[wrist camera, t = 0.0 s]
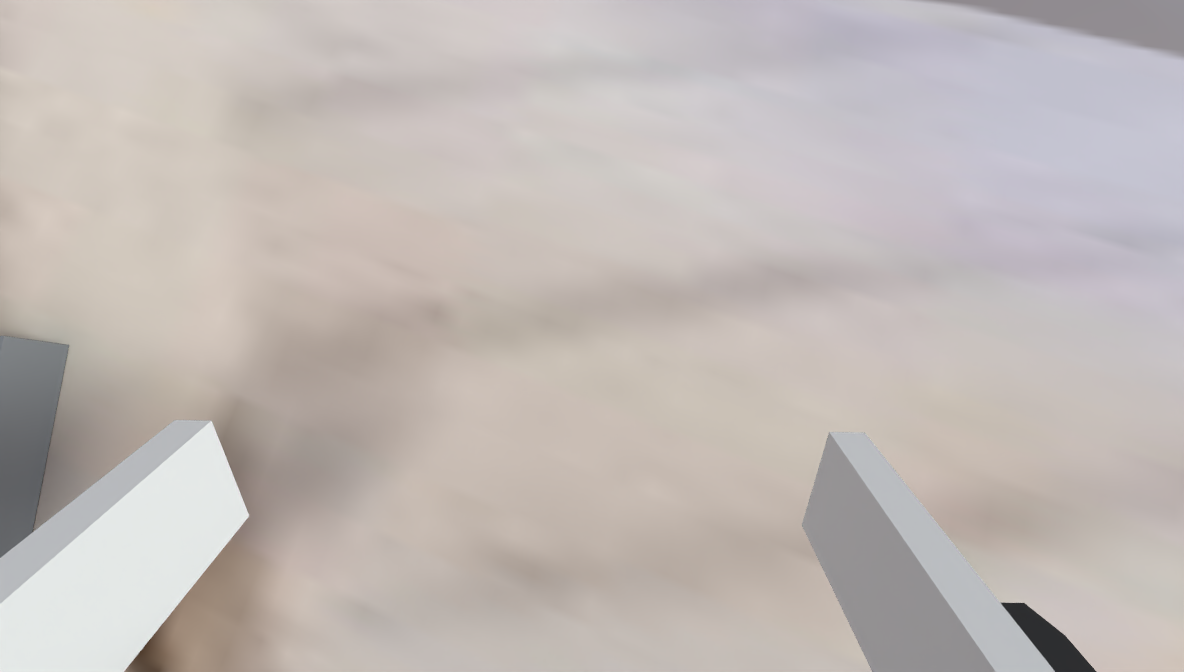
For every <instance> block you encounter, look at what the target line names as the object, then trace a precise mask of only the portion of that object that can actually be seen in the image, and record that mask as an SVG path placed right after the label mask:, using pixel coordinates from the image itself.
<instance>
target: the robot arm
mask: <svg viewBox="0 0 1184 672" xmlns="http://www.w3.org/2000/svg"><path fill="white" fill-rule="evenodd" d="M248 517H249V514H248V512H247V509H246V507H245V504H244V502H243V499H242V496H241V494H240V491H239V489H238V486H237V484H236V481H235V479H234V476H233V474H232V471H231V469H230V466H229V464H228V461H227V459H226V456H225V454H224V451H223V448H222V446H221V443H220V441H219V438H218V436H217V433H216V431H215V428H214V426H213V423H212V421H200V420H174V421H173V422H172V423H171V424H169V425H168V426H167V427H166V428H164V429H163V430H162V431H160V432H159V433H158V434H157V435H155V436H154V437H153V438H152V439H150V440H149V441H148V442H147V443H145V444H144V445H143V446H141V447H140V448H139V449H138V450H136V451H135V452H134V453H133V454H131V455H130V456H129V457H128V458H126V459H125V460H124V461H122V462H121V463H120V464H119V465H117V466H116V467H115V468H114V469H112V470H111V471H110V472H109V473H107V474H106V475H105V476H103V477H102V478H101V479H100V480H98V481H97V482H96V483H95V484H93V485H92V486H91V487H90V488H88V489H87V490H86V491H84V492H83V493H82V494H81V495H79V496H78V497H77V498H76V499H74V500H73V501H72V502H71V503H69V504H68V505H67V506H65V507H64V508H63V509H62V510H60V511H59V512H58V513H57V514H55V515H54V516H53V517H52V518H50V519H49V520H48V521H46V522H45V523H44V524H43V525H41V526H40V527H39V528H38V529H36V530H35V531H34V532H33V533H31V534H30V535H29V536H27V537H26V538H25V539H24V540H22V541H21V542H20V543H19V544H17V545H16V546H15V547H14V548H12V549H11V550H10V551H8V552H7V553H6V554H5V555H3V556H2V557H1V558H0V672H124V671H125V669H126V668H127V667H128V666H129V664H130V663H131V662H132V661H133V660H134V658H135V657H136V656H137V655H138V653H139V652H140V651H141V650H142V648H143V647H144V646H145V645H146V643H147V642H148V641H149V640H150V638H151V637H152V636H153V635H154V633H155V632H156V631H157V630H158V629H159V627H160V626H161V625H162V624H163V622H164V621H165V620H166V619H167V617H168V616H169V615H170V614H171V612H172V611H173V610H174V609H175V607H176V606H177V605H178V604H179V602H180V601H181V600H182V599H183V598H184V596H185V595H186V594H187V593H188V591H189V590H190V589H191V588H192V586H193V585H194V584H195V583H196V581H197V580H198V579H199V578H200V576H201V575H202V574H203V573H204V571H205V570H206V569H207V568H208V567H209V565H210V564H211V563H212V562H213V560H214V559H215V558H216V557H217V555H218V554H219V553H220V552H221V550H222V549H223V548H224V547H225V545H226V544H227V543H228V542H229V540H230V539H231V538H232V537H233V536H234V534H235V533H236V532H237V531H238V529H239V528H240V527H241V526H242V524H243V523H244V522H245V521H246V519H247V518H248ZM802 527H803V529H804V531H805V533H806V535H807V537H808V539H809V541H810V543H811V545H812V547H813V549H814V551H815V554H816V556H817V558H818V560H819V562H820V564H821V566H822V568H823V570H824V572H825V574H826V576H827V578H828V580H829V583H830V585H831V587H832V589H833V591H834V593H835V595H836V597H837V599H838V601H839V603H840V605H841V607H842V610H843V612H844V614H845V616H846V618H847V620H848V622H849V624H850V626H851V628H852V630H853V632H854V634H855V637H856V639H857V641H858V643H859V645H860V647H861V649H862V651H863V653H864V655H865V657H866V659H867V661H868V663H869V666H870V668H871V670H872V672H1096V671H1095V670H1094V668H1093V667H1092V666H1091V665H1090V664H1089V663H1088V662H1087V660H1086V659H1085V658H1084V657H1083V656H1082V655H1081V653H1080V652H1079V651H1078V650H1077V649H1076V648H1075V647H1074V645H1073V644H1072V643H1071V642H1070V641H1069V640H1068V639H1067V637H1066V636H1065V635H1064V634H1062V633H1061V632H1060V631H1059V630H1057V629H1056V628H1055V627H1054V626H1052V625H1051V624H1050V623H1049V622H1047V621H1046V620H1045V619H1043V618H1042V617H1041V616H1040V615H1038V614H1037V613H1036V612H1035V611H1033V610H1032V609H1031V608H1030V607H1028V606H1027V605H1026V604H1025V603H1000V602H999V601H998V599H997V598H996V597H995V595H994V594H993V593H992V592H991V590H990V589H989V588H988V587H987V585H986V584H985V583H984V582H983V580H982V579H981V578H980V577H979V575H978V574H977V573H976V572H975V570H974V569H973V568H972V567H971V565H970V564H969V563H968V562H967V560H966V559H965V558H964V557H963V555H962V554H961V553H960V552H959V550H958V549H957V548H956V547H955V545H954V544H953V543H952V541H951V540H950V539H949V538H948V536H947V535H946V534H945V533H944V531H943V530H942V529H941V528H940V526H939V525H938V524H937V523H936V521H935V520H934V519H933V518H932V516H931V515H930V514H929V513H928V511H927V510H926V509H925V508H924V506H923V505H922V504H921V503H920V501H919V500H918V499H917V498H916V496H915V495H914V494H913V493H912V491H911V490H910V489H909V487H908V486H907V485H906V484H905V482H904V481H903V480H902V479H901V477H900V476H899V475H898V474H897V472H896V471H895V470H894V469H893V467H892V466H891V465H890V464H889V462H888V461H887V460H886V459H885V457H884V456H883V455H882V454H881V452H880V451H879V450H878V449H877V447H876V446H875V445H874V444H873V442H872V441H871V440H870V439H869V437H868V436H867V435H866V434H865V433H854V432H829V435H828V438H827V441H826V445H825V448H824V452H823V455H822V458H821V462H820V465H819V469H818V472H817V475H816V479H815V482H814V486H813V489H812V492H811V496H810V499H809V503H808V506H807V509H806V513H805V516H804V519H803V523H802Z"/></svg>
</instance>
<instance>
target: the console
mask: <svg viewBox="0 0 1184 672" xmlns="http://www.w3.org/2000/svg"><path fill="white" fill-rule="evenodd" d="M68 348H69V345H65V344H58V343H50V342H43V341H36V340H29V339H22V338H15V337H8V336H0V558H1V557H2V556H3V555H5V554H6V553H7V552H8V551H10V550H11V549H12V548H14V547H15V546H16V545H17V544H19V543H20V542H21V541H22V540H24V539H25V538H26V537H27V536H29V535H30V534H31V533H32V531H33V526H34V521H35V515H36V510H37V505H38V500H39V495H40V490H41V485H42V480H43V475H44V470H45V465H46V459H47V454H48V449H49V444H50V439H51V434H52V429H53V424H54V419H55V414H56V409H57V404H58V398H59V393H60V388H61V383H62V378H63V373H64V368H65V363H66V358H67V353H68Z"/></svg>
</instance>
